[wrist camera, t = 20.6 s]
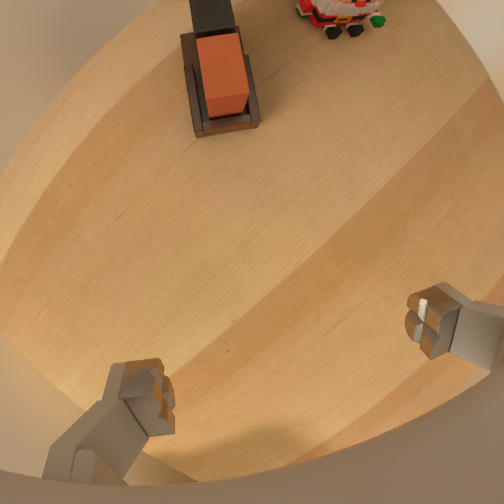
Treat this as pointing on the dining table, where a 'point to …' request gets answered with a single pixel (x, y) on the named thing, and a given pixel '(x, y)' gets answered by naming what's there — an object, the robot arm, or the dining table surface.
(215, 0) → the mount
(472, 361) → the robot arm
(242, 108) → the orange rectangular block
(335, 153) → the dining table surface
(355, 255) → the dining table surface
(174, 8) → the dining table surface
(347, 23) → the figurine
